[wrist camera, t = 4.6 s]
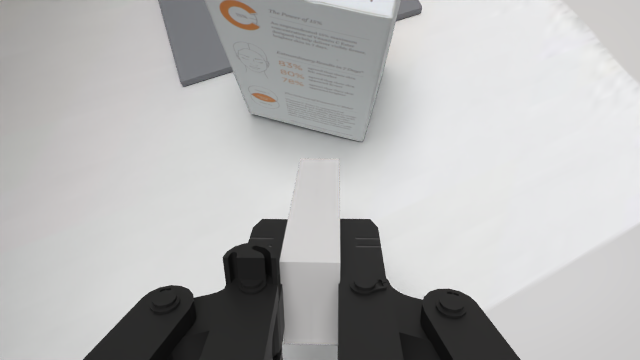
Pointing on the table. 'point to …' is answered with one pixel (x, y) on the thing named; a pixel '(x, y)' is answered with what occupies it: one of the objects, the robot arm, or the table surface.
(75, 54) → the table surface
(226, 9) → the small box
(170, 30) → the grey rubber mat
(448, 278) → the table surface
